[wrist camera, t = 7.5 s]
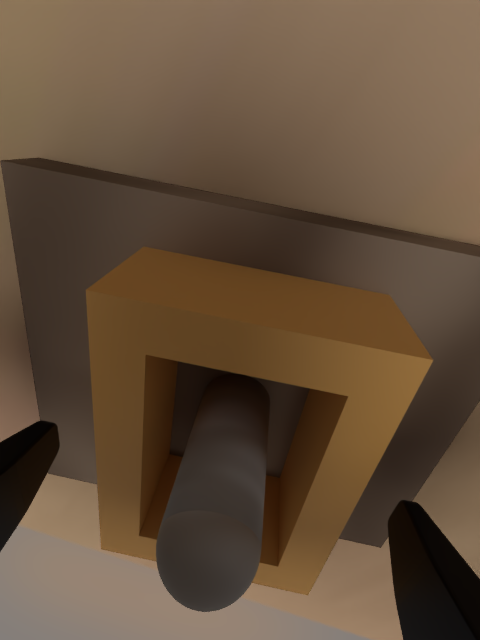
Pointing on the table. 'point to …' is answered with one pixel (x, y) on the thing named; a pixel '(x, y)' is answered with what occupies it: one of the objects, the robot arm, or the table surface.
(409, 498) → the keeper board
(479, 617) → the robot arm
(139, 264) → the tan rectangular frame
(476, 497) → the table surface
